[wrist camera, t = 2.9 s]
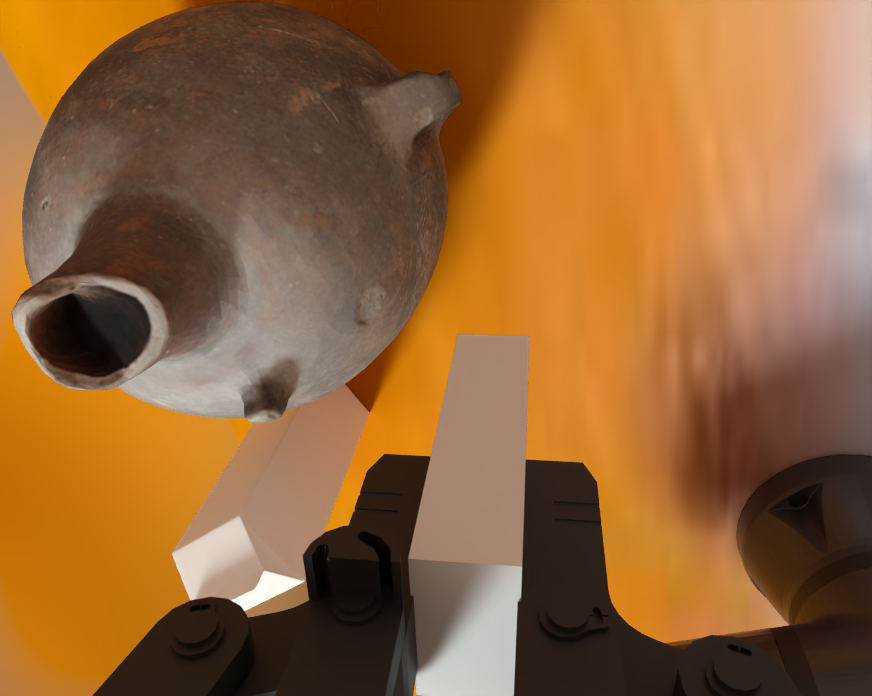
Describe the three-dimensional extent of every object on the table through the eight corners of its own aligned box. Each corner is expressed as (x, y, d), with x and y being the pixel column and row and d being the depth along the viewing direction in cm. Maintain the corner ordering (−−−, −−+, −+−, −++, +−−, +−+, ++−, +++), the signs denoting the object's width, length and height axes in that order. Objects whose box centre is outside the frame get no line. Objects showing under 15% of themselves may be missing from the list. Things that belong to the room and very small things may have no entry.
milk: (272, 392, 61) (142, 591, 41) (326, 358, 59) (215, 552, 39) (318, 444, 63) (215, 658, 43) (372, 413, 60) (289, 624, 41)
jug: (358, 365, 58) (205, 694, 32) (116, 217, 55) (-275, 448, 29) (540, 100, 47) (535, 270, 21) (250, -105, 44) (-185, -208, 18)
